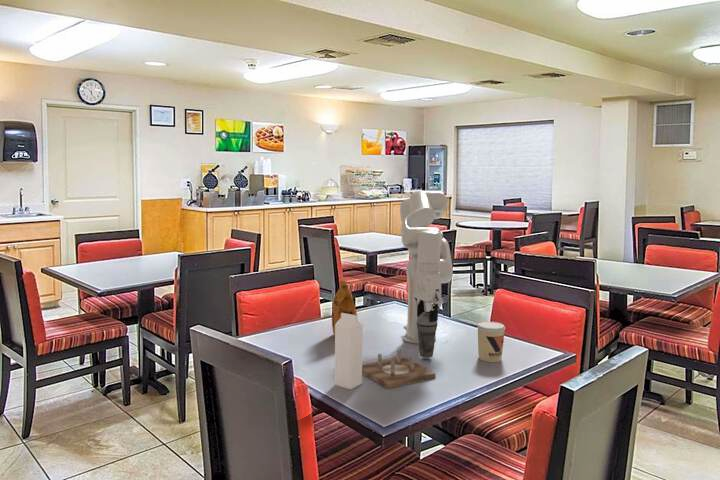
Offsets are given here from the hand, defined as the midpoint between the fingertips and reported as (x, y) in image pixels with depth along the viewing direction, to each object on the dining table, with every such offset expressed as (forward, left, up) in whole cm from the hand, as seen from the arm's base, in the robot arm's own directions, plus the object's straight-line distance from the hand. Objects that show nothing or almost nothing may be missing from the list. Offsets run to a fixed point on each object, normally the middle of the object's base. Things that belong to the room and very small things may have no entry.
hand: (427, 318), depth 195 cm
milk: (+7, -35, -15) cm, 38 cm away
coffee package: (-36, -12, -15) cm, 40 cm away
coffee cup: (+10, +20, -15) cm, 27 cm away
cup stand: (+6, -17, -14) cm, 23 cm away
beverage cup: (0, 0, -14) cm, 14 cm away
